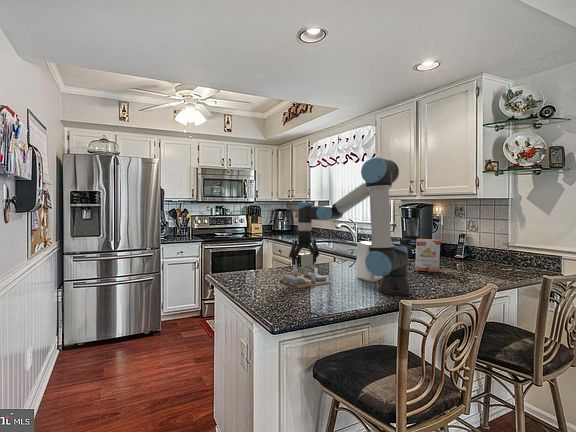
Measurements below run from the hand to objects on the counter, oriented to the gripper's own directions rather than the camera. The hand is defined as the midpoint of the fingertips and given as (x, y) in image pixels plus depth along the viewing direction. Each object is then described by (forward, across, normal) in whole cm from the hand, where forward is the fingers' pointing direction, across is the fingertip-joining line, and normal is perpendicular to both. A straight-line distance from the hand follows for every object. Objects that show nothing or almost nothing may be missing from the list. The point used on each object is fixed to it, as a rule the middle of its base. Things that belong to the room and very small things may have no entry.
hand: (304, 269), depth 190 cm
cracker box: (+7, -86, +14) cm, 87 cm away
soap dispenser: (+7, -37, +11) cm, 39 cm away
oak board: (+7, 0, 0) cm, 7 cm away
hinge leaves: (+6, 0, 0) cm, 6 cm away
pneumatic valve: (+2, 0, 0) cm, 2 cm away
